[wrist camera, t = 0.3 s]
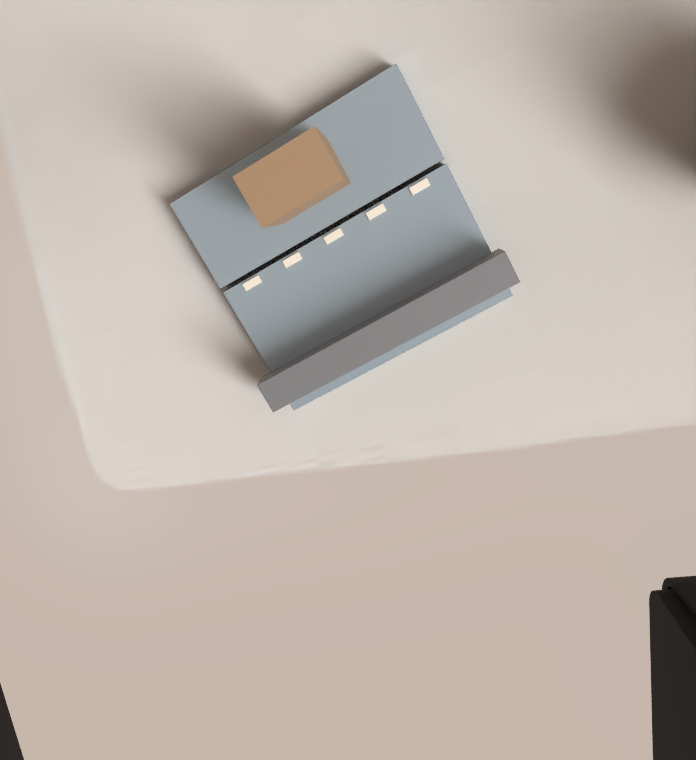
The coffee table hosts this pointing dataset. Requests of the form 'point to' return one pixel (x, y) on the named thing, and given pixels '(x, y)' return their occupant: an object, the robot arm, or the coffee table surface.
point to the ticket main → (370, 290)
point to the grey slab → (309, 177)
